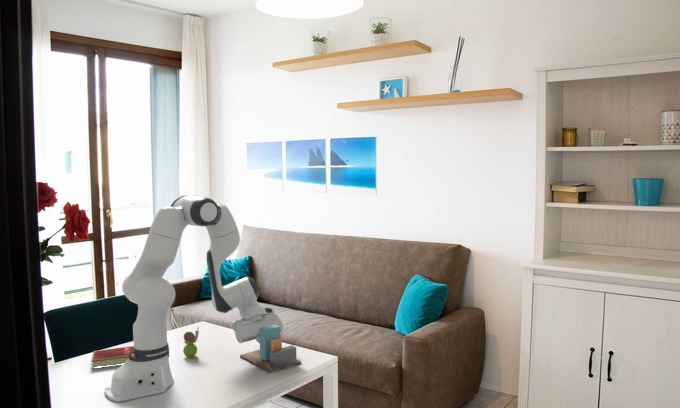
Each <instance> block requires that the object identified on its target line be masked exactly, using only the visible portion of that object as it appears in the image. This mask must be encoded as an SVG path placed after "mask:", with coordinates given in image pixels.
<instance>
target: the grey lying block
mask: <svg viewBox="0 0 680 408" xmlns="http://www.w3.org/2000/svg"><path fill="white" fill-rule="evenodd" d="M297 360H298V358H297V346H294V345H288V346H284V347H282V348H281V349H277V350H274V351H270V367H271V368H273V369H274V370H275V369H278V368H281V367H284V366H287V365H291V364H294V363H297Z"/></svg>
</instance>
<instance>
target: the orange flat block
mask: <svg viewBox="0 0 680 408" xmlns="http://www.w3.org/2000/svg"><path fill="white" fill-rule="evenodd" d="M282 341H283V339H282V338H281V339H280V338H279V339H275V340H271V351H274V350H277V349H281V348H283V342H282Z"/></svg>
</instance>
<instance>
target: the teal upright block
mask: <svg viewBox="0 0 680 408" xmlns="http://www.w3.org/2000/svg"><path fill="white" fill-rule="evenodd" d="M259 331H260V343H259V350H260V358H261V359H263V360H265V361H268V360H270V351H271V340H275V339H279V338H280V339H282V336H281V332H280V326H278V325H275V324H274V325H270V326H266V327H262V328H259Z"/></svg>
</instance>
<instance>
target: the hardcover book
mask: <svg viewBox="0 0 680 408" xmlns="http://www.w3.org/2000/svg"><path fill="white" fill-rule="evenodd" d="M133 346H134V345H131V346H124V347H115V348H107V349H99V350H94V351H93V353H92V356H91V359H90V360H91V363H92V368H93V367H97V366H107V365H116V364H122V363H125V362H126V361H127V360H128V359H129V357H128V355H126V354H125V353H124V350H125V348H129V349H130V350H131V349H132V348H133Z"/></svg>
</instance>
